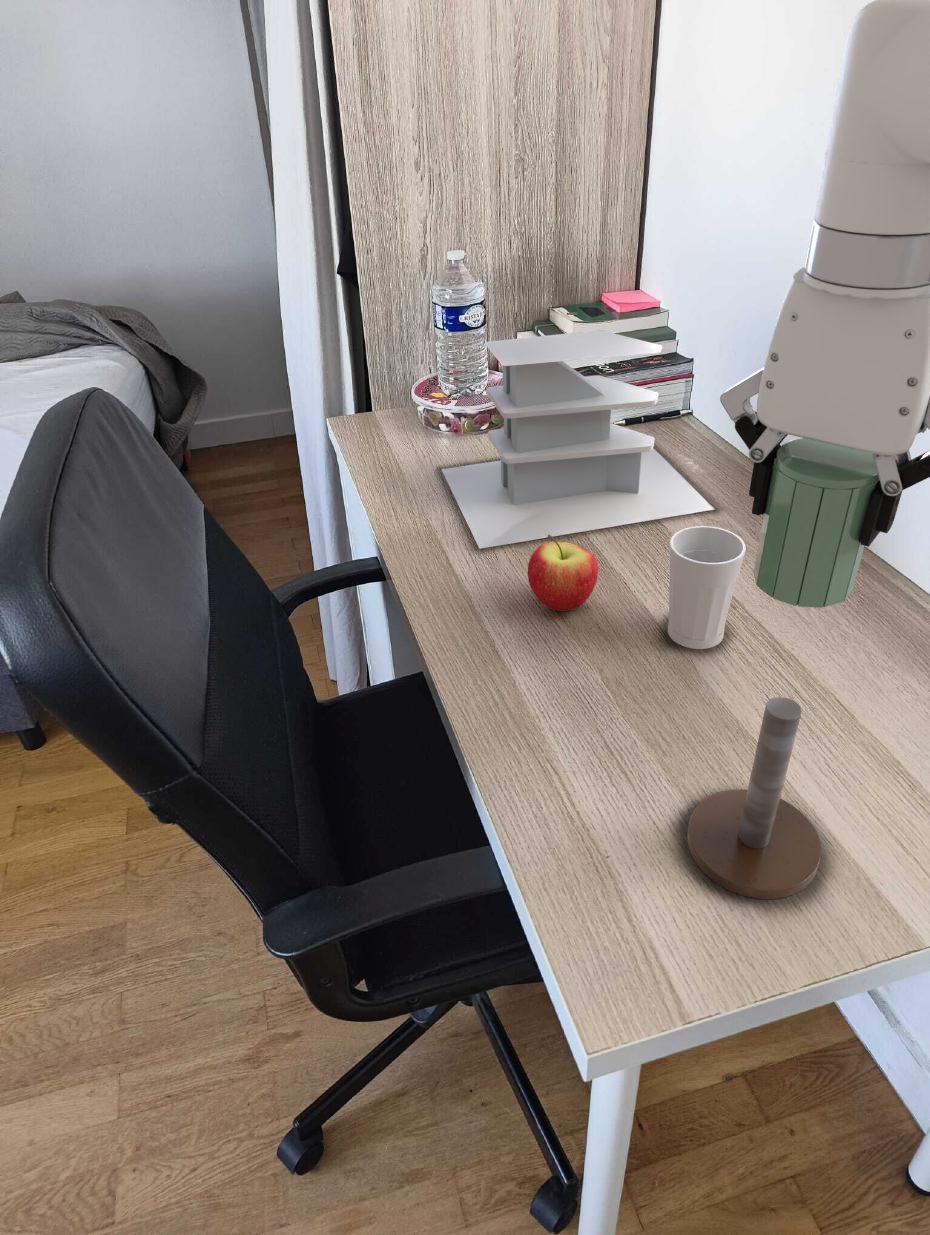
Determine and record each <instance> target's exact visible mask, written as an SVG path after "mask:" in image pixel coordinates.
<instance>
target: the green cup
mask: <svg viewBox="0 0 930 1235" xmlns="http://www.w3.org/2000/svg"><path fill="white" fill-rule="evenodd" d="M879 482H880V480H879V476H878V473H877V469H876V465H875V462H874V458H873V454H872V453H868V452H863V451H859V450H854V449H850V448H845V447H841V446H836V445H832V444H828V443H823V442H819V441H814V440H810V439H806V438H802V437H798V438H795V439H792V440H789V441H787V442H785V443H783V444H781V447H780V448H779V449H778V451H777V456H776V458H775V459H774V464H773V469H772V475H771V480H770V486H769V491H768V496H767V502H766V507H765V513H764V514H763V520H762V524H761V530H760V536H759V540H758V546H757V552H756V556H755V561H754V562H755V563H754V568H753V576H754V581H755V585H756V586H757V588H759V589H760V590H761V591H762V592H764V593H765V594H767V595H768V596H769V597H770V598H773V600H776V601H779V602H782V603H785V604H788V605H791V606H793V607H800V608H821V609H822V608H828V607H830V606H834V605H837V604H840V603H843V602H845V601H846V600H847V599H848V597H849V596H850V594H851V593H852V592H853V590H854V586H855V583H856V579H857V576H858V572H859V568H860V564H861V562H862V557H863V553H864V549H865V546H864V545H861V542H858V540H859V536H860V532H861V529H862V525H863V521H864V517H865V514H866V510H867V506H868V502H869V498H870V495H871V493H872V492H873V491H874V490H875V489H876V488H877V487H878V485H879Z"/></svg>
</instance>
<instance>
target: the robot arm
mask: <svg viewBox="0 0 930 1235" xmlns="http://www.w3.org/2000/svg"><path fill="white" fill-rule="evenodd" d="M831 116H832V117H831V123H830V127H829V135H828V138H827V145H826V150H825V155H824V161H823V165H822V171H821V176H820V184H819V189H818V194H817V199H816V205H815V211H814V216H813V222H812V227H811V233H810V238H809V244H808V249H807V255H806V260H805V266H804V267H801V268H800V269H799V270H798V271H797V272H795V273H794V274H793V275H792V277H791V281H790V283H789V285H788V287H787V291H786V293H785V296H784V299H783V301H782V304H781V308H780V309H779V313H778V315H777V319H776V322H775V326H774V329H773V333H772V336H771V340H770V342H769V345H768V350H767V353H766V357H765V360H764V364H763V368H761V369H759V370H757V371H756V372H754V373H752V374H751V375H749V376H748V377H745V378H744V379H742V380H741V381H739V382H738V383H736V384H734V385H733V386H731V387H729V388H728V389H727V390H726V391H724V392H723V393H722V394H721V395H720V397H719V401H720V403H721V406H722V407H723V408H724V411H725V412H726V414H727V415H728V417H729V418H730V420H731V421H732V422H733V423H734V430H735V431H736V433H737V435H738V436H739V437H740V439H741V440H742V441H743V443H744V445H745V446H746V447H747V449H748V450H749V451H748V457H749V459H750V460H751V461H752V462H753V467H752V474H751V478H750V484H749V490H748V496H749V497H752V498H753V502H752V508H751V514H752V515H755V516H758V517H759V516H761V515H763V516H764V513H765V507H766V502H767V496H768V491H769V486H770V480H771V475H772V469H773V464H774V459H775V458H776V456H777V451H778V449H779V448H780V447H781V446H782V443H783V442H784V441H785V439H786V438H788V436H793V437H797V438H806V439H810V440H814V441H819V442H823V443H828V444H832V445H836V446H841V447H845V448H850V449H854V450H859V451H863V452H868V453H872V454H873V458H874V462H875V465H876V469H877V473H878V476H879V480H880V482H879V485H878V487H877V488H876V489H875V490H874V491H873V492H872V493H871V495H870V498H869V502H868V506H867V510H866V514H865V517H864V521H863V525H862V529H861V532H860V536H859V540H858V542H861V545H864V547H867V548H869V547H870V546H871V544H872V543H873V542H874V541H875V539H876V538H877V537H878V535H879V534H880V533H884V534H888V533H889V532H890V530H891V529H892V527H893V524H894V521H895V519H896V515H897V511H898V508H899V505H900V500H901V497H902V494H903V491H905V490H906V489H908V488H911V487H913V486H915V485H916V484H918V483H921V482H922V481H923V482H924V481H925V480H927V479H929V478H930V450H928V451H926V452H924V453H922V454H919V455H918V456H916V457H914V458H912V456H911V452H910V449H911V448H912V445H913V443H914V441H915V438H916V436H917V435H918V434H920V433H925V432H926V431H927V429H928V430H929V431H930V0H873V1H871V2H869V3H867V4H866V5H865V6H864V7H862V8H861V9H860V11H858V13H857V14H856V15H855V17H854V19H853V21H852V22H851V25H850V27H849V29H848V33H847V37H846V42H845V46H844V49H843V55H842V61H841V67H840V72H839V78H838V84H837V89H836V94H835V100H834V105H833V112H832V115H831ZM755 395H757V399H756V400H757V401H756V410H755V409H753V405H752V402H751V398H752V397H754V396H755Z"/></svg>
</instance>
